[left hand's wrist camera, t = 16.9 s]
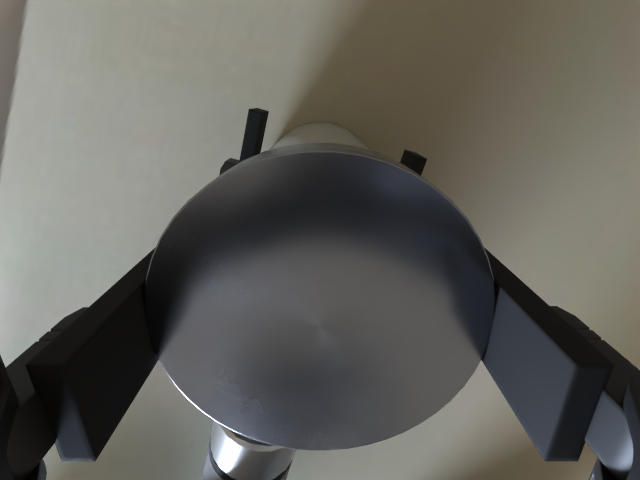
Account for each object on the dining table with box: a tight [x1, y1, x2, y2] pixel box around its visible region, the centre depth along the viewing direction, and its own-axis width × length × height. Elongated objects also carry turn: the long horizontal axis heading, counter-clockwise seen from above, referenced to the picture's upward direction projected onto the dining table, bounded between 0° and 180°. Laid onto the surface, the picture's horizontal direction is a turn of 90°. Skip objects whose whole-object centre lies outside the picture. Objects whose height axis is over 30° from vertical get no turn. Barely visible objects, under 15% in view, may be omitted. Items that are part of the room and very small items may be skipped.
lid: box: [144, 143, 495, 450], centre depth 11 cm, size 10×10×2 cm
